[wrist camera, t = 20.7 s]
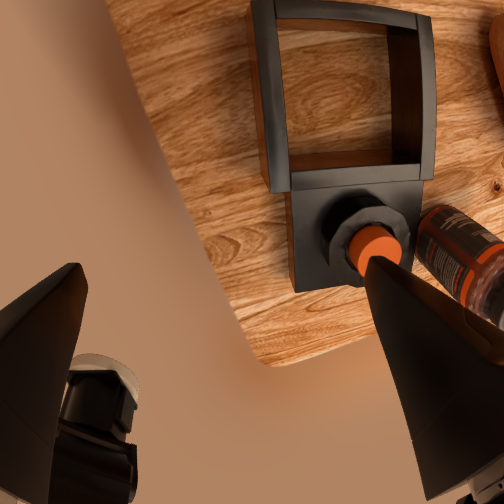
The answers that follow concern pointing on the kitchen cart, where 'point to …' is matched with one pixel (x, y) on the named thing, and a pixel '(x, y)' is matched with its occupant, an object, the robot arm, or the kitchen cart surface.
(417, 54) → the rectangular frame
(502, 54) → the bread roll
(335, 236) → the control block
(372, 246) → the stop button
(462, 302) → the supplement bottle
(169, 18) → the kitchen cart surface
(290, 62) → the kitchen cart surface
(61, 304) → the robot arm
